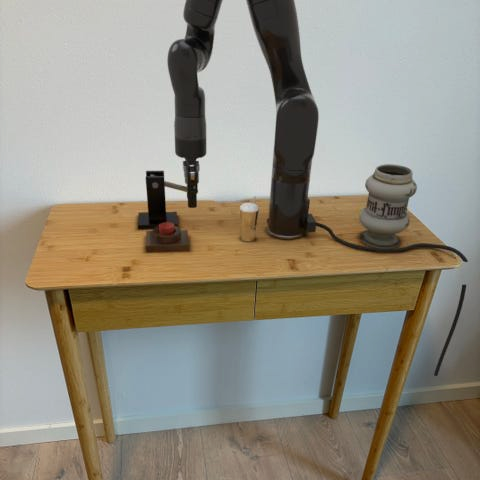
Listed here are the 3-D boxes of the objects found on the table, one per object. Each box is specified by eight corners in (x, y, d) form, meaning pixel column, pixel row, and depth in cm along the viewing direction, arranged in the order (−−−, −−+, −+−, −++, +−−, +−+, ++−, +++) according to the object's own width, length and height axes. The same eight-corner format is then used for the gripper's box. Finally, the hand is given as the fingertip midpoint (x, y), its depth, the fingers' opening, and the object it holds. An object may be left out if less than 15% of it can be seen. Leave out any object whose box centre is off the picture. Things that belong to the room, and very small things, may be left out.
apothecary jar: (348, 230, 128) (360, 161, 118) (392, 228, 130) (407, 160, 120) (365, 252, 119) (380, 178, 108) (412, 249, 120) (431, 177, 110)
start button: (174, 228, 118) (174, 221, 117) (174, 235, 115) (174, 228, 114) (159, 229, 118) (158, 222, 117) (159, 235, 115) (158, 228, 114)
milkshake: (261, 235, 124) (263, 197, 118) (252, 244, 120) (254, 205, 114) (244, 232, 125) (246, 194, 119) (235, 240, 121) (237, 201, 115)
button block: (187, 236, 122) (187, 223, 120) (189, 251, 116) (188, 237, 114) (146, 237, 121) (145, 223, 119) (146, 252, 115) (144, 238, 113)
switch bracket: (176, 215, 132) (175, 168, 125) (177, 228, 126) (175, 179, 118) (139, 216, 131) (134, 168, 123) (137, 229, 124) (133, 179, 117)
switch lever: (193, 192, 127) (195, 183, 126) (194, 199, 123) (197, 190, 122) (148, 180, 124) (150, 171, 123) (148, 187, 120) (150, 178, 119)
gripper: (208, 143, 111) (208, 214, 121) (204, 126, 123) (204, 192, 133) (175, 143, 110) (177, 214, 120) (173, 126, 122) (176, 192, 132)
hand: (191, 202), depth 126 cm, fingers closed on switch lever, 5 cm apart
